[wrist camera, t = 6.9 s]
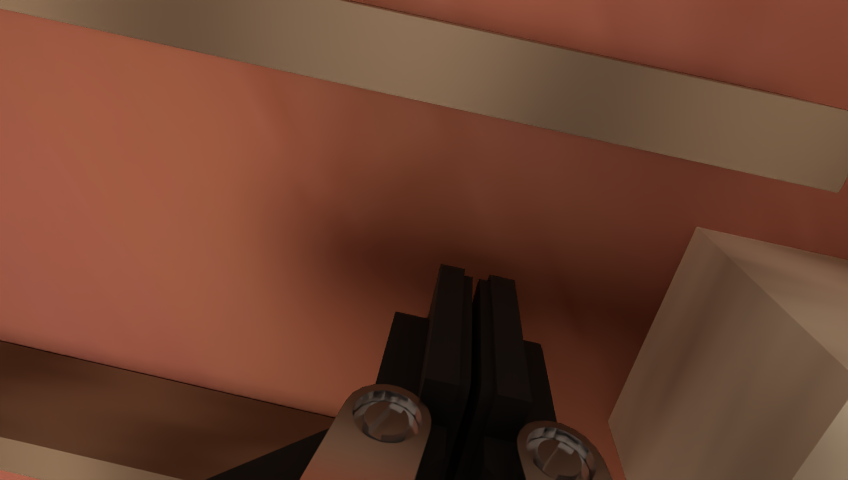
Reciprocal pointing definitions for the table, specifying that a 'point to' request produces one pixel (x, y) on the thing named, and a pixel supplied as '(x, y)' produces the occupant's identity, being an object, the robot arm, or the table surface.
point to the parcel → (741, 368)
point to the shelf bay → (401, 76)
